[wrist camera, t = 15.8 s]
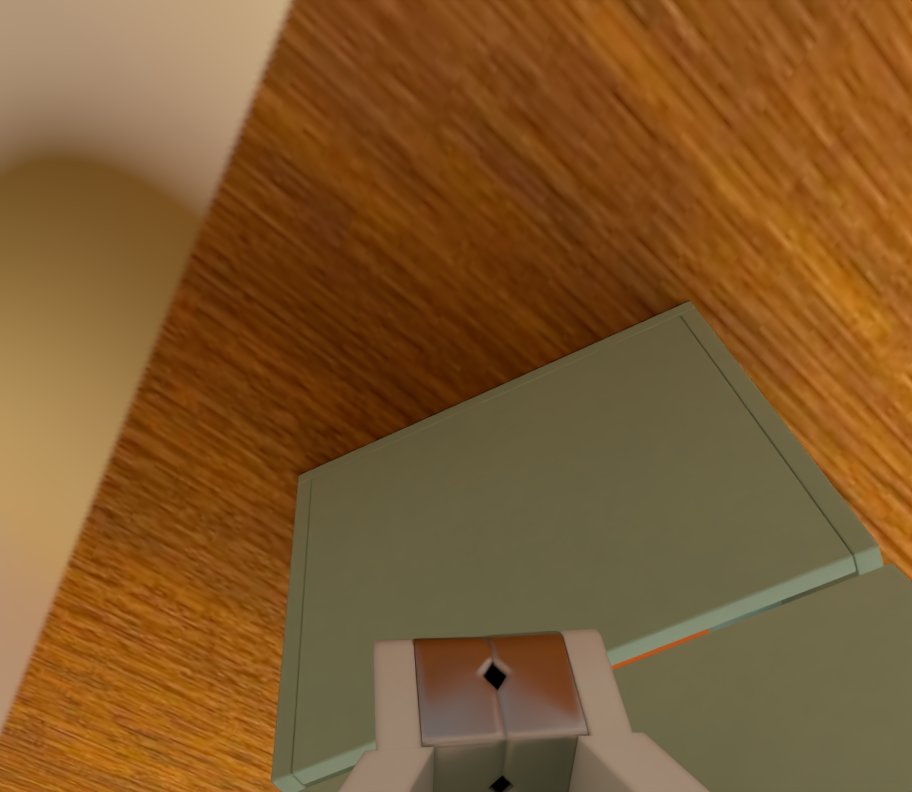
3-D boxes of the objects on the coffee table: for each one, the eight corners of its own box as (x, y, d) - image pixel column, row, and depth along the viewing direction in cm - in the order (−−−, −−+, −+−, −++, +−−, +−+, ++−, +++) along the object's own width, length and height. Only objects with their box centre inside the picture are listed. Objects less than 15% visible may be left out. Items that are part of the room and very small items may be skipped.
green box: (297, 475, 26) (269, 782, 18) (690, 299, 25) (879, 545, 16) (488, 733, 34) (535, 1036, 25) (797, 615, 32) (965, 898, 23)
